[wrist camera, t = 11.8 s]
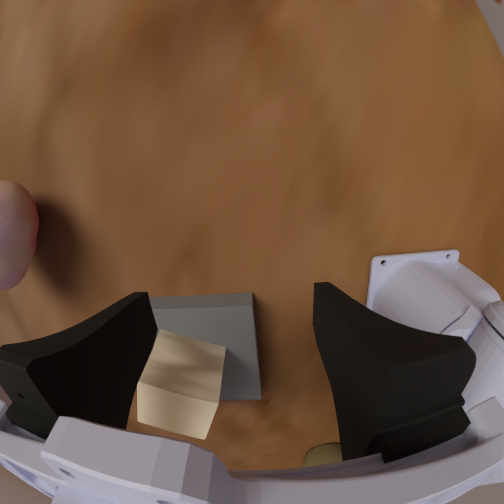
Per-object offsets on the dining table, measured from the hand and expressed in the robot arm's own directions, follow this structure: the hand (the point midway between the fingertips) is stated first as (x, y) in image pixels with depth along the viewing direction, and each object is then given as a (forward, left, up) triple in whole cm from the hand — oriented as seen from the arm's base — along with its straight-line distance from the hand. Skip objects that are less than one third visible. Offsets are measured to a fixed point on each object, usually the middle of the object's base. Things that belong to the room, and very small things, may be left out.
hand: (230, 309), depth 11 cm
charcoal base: (+5, +10, -10) cm, 15 cm away
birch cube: (+6, +10, -8) cm, 14 cm away
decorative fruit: (+20, -4, -10) cm, 23 cm away
